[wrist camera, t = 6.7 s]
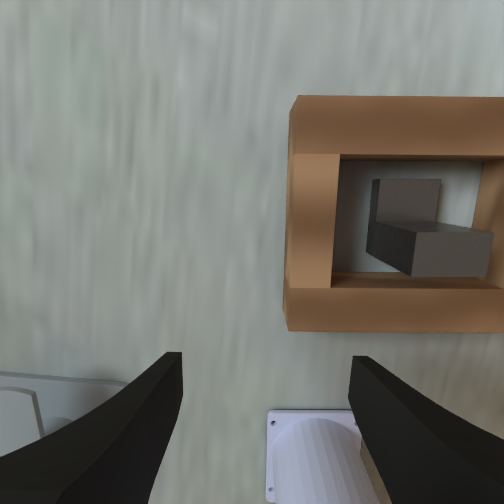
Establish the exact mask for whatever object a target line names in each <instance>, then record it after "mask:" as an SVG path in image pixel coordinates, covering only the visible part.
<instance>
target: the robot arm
mask: <svg viewBox="0 0 504 504" xmlns="http://www.w3.org/2000/svg"><path fill="white" fill-rule="evenodd" d="M182 397H183V377H182V352H166V353H165V354H164V355H163V356H162V357H161V358H159V359H158V360H157V361H156V362H155V363H154V364H153V365H151V366H150V367H149V368H148V369H147V370H146V371H144V372H143V373H142V374H141V375H140V376H138V377H137V378H136V379H135V380H134V381H132V382H131V383H130V384H128V385H127V386H126V387H124V388H123V389H122V390H121V391H119V392H118V393H117V394H115V395H114V396H113V397H111V398H110V399H108V400H107V401H105V402H104V403H102V404H101V405H99V406H98V407H96V408H95V409H93V410H92V411H90V412H89V413H87V414H85V415H84V416H82V417H80V418H78V419H76V420H75V421H73V422H71V423H69V424H68V425H66V426H64V427H62V428H60V429H59V430H57V431H55V432H53V433H51V434H49V435H47V436H45V437H43V438H41V439H39V440H37V441H35V442H33V443H30V444H28V445H26V446H24V447H22V448H20V449H17V450H15V451H13V452H11V453H8V454H6V455H3V456H1V457H0V504H148V500H149V497H150V493H151V490H152V487H153V484H154V481H155V478H156V475H157V473H158V470H159V467H160V464H161V462H162V459H163V456H164V454H165V451H166V448H167V446H168V443H169V440H170V437H171V435H172V432H173V429H174V427H175V424H176V421H177V418H178V414H179V410H180V406H181V401H182ZM348 399H349V403H350V406H351V409H352V410H271V411H269V413H268V419H267V461H266V500H267V501H269V502H275V503H276V504H380V503H379V500H378V498H377V496H376V493H375V491H374V488H373V486H372V483H371V481H370V478H369V476H368V473H367V471H366V469H365V466H364V464H363V461H362V459H361V456H360V449H361V440H362V437H363V439H364V441H365V444H366V446H367V448H368V450H369V452H370V454H371V456H372V459H373V461H374V463H375V465H376V467H377V469H378V471H379V474H380V476H381V478H382V480H383V482H384V485H385V487H386V489H387V492H388V494H389V496H390V499H391V502H392V504H504V440H503V439H501V438H499V437H497V436H495V435H493V434H491V433H489V432H487V431H485V430H483V429H481V428H479V427H477V426H475V425H473V424H471V423H469V422H467V421H466V420H464V419H462V418H460V417H458V416H457V415H455V414H453V413H451V412H450V411H448V410H446V409H444V408H443V407H441V406H440V405H438V404H436V403H435V402H433V401H432V400H430V399H429V398H427V397H425V396H424V395H422V394H421V393H419V392H418V391H416V390H415V389H413V388H412V387H411V386H409V385H408V384H406V383H405V382H403V381H402V380H401V379H399V378H398V377H396V376H395V375H394V374H392V373H391V372H390V371H388V370H387V369H385V368H384V367H383V366H381V365H380V364H379V363H377V362H376V361H374V360H373V359H371V358H370V357H368V356H353V360H352V368H351V377H350V385H349V394H348ZM272 421H275V422H272ZM355 422H356V423H355Z"/></svg>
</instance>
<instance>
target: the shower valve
mask: <svg viewBox="0 0 504 504" xmlns="http://www.w3.org/2000/svg"><path fill="white" fill-rule="evenodd" d="M127 385H128V383H125V382H116V381H104V380H93V379H81V378H69V377H58V376H46V375H35V374H23V373H12V372H0V457H1V456H3V455H6V454H8V453H11V452H13V451H15V450H17V449H20V448H22V447H24V446H26V445H28V444H30V443H33V442H35V441H37V440H39V439H41V438H43V437H45V436H47V435H49V434H51V433H53V432H55V431H57V430H59V429H60V428H62V427H64V426H66V425H68V424H69V423H71V422H73V421H75V420H76V419H78V418H80V417H82V416H84V415H85V414H87V413H89V412H90V411H92V410H93V409H95V408H96V407H98V406H99V405H101V404H102V403H104V402H105V401H107V400H108V399H110V398H111V397H113V396H114V395H115V394H117V393H118V392H119V391H121V390H122V389H123V388H124V387H126V386H127Z"/></svg>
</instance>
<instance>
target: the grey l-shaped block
mask: <svg viewBox="0 0 504 504" xmlns="http://www.w3.org/2000/svg"><path fill="white" fill-rule="evenodd" d="M440 183H441V179H374V180H373V181H372V192H371V203H370V214H369V224H368V235H367V246H366V252H367V253H368V254H370V255H372V256H374V257H376V258H377V259H379V260H381V261H383V262H385V263H386V264H388V265H390V266H392V267H394V268H395V269H397V270H399V271H401V272H403V273H404V274H406V275H408V276H410V277H486V275H487V270H488V265H489V260H490V254H491V249H492V244H493V239H494V234H495V232H490V231H484V230H479V229H473V228H468V227H462V226H457V225H451V224H446V223H440V222H435V217H436V210H437V203H438V196H439V189H440Z"/></svg>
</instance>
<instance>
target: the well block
mask: <svg viewBox="0 0 504 504" xmlns="http://www.w3.org/2000/svg"><path fill="white" fill-rule="evenodd" d="M340 160H365V161H484V164H483V169H482V174H481V180H480V185H479V191H478V196H477V202H476V207H475V213H474V218H473V224H472V228H473V229H479V230H484V231H490V232H495V234H494V239H493V244H492V249H491V254H490V260H489V265H488V270H487V275H486V277H410V276H408V275H406V274H404V273H403V272H331V270H332V256H333V243H334V229H335V216H336V202H337V189H338V175H339V161H340ZM283 312H284V315H285V319H286V323H287V327H288V331H303V332H478V333H504V97H433V96H322V95H298V97H297V99H296V101H295V103H294V105H293V107H292V108H291V110H290V113H289V142H288V171H287V200H286V229H285V259H284V288H283Z"/></svg>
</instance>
